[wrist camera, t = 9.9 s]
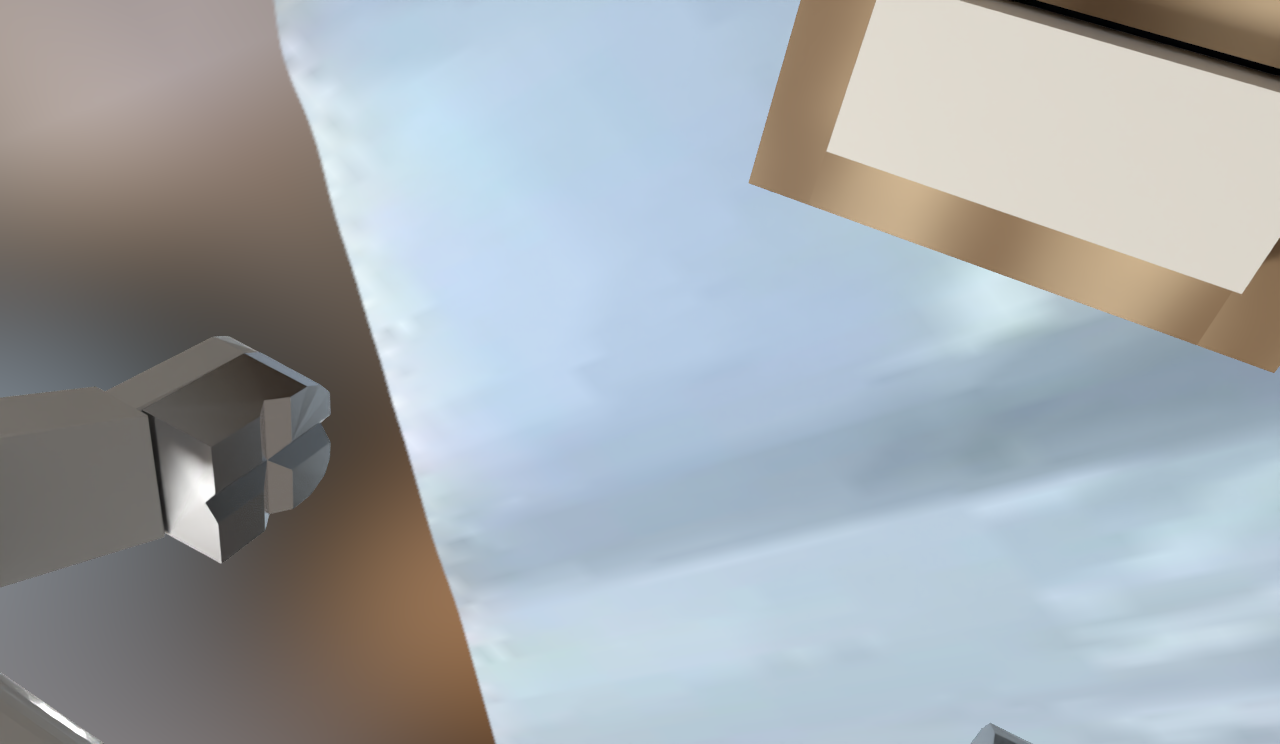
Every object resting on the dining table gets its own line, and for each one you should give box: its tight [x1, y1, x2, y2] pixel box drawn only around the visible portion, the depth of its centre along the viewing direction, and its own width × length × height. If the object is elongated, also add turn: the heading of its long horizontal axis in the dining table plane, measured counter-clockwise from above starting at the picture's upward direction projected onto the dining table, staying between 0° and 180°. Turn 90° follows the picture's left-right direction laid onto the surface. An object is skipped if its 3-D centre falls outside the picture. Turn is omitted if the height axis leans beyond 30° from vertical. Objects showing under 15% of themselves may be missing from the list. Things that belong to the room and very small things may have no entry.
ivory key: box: [827, 0, 1280, 294], centre depth 25 cm, size 12×5×3 cm, turn 78°
